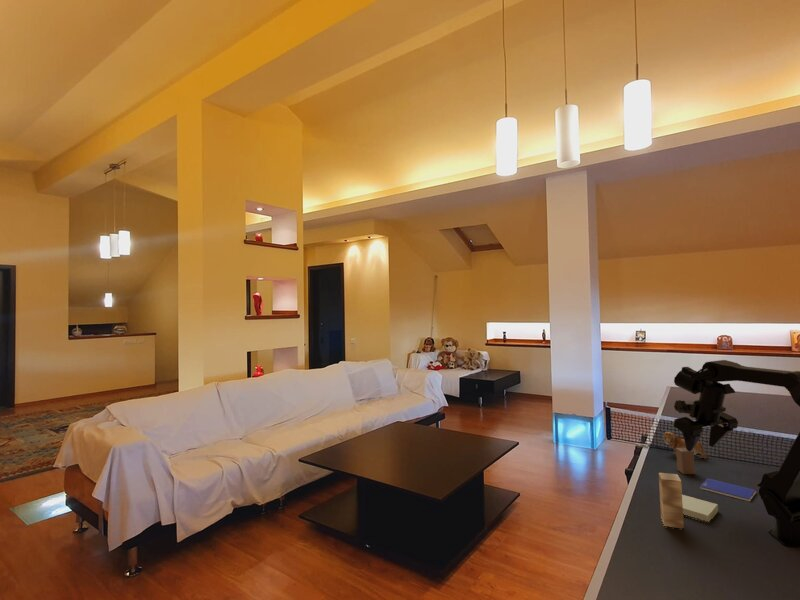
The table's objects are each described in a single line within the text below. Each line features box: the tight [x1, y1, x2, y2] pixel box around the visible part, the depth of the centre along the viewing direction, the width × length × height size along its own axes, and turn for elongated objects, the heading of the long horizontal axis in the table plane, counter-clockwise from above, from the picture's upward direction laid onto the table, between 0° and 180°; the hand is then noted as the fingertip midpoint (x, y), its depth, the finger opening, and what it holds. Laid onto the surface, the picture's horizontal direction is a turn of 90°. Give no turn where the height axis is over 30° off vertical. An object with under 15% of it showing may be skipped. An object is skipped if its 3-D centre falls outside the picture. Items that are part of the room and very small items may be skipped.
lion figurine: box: [662, 431, 709, 459], centre depth 163 cm, size 15×5×9 cm, turn 70°
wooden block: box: [675, 448, 696, 475], centre depth 148 cm, size 4×4×8 cm
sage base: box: [682, 494, 719, 523], centre depth 122 cm, size 9×9×2 cm
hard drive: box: [699, 478, 757, 502], centre depth 133 cm, size 2×8×12 cm
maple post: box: [658, 472, 685, 529], centre depth 116 cm, size 4×4×13 cm
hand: (699, 448), depth 127 cm, fingers open, 9 cm apart
